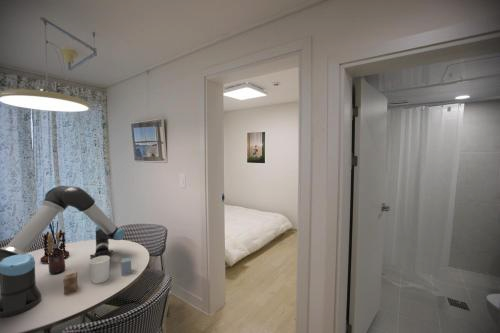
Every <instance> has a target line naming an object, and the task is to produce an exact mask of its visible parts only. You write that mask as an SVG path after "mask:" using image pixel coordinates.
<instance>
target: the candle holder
mask: <svg viewBox="0 0 500 333" xmlns="http://www.w3.org/2000/svg"><path fill="white" fill-rule="evenodd" d="M110 260H111V257H109V256H107V255H106V256H99V257H96V258H93V259H90V260H89V269H90V270H89V272H90V278H91V283H92V284H94V285H95V284H102V283H103V282H106V281H107V280H109V278H110V264H111V263H110V262H111V261H110Z"/></svg>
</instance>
